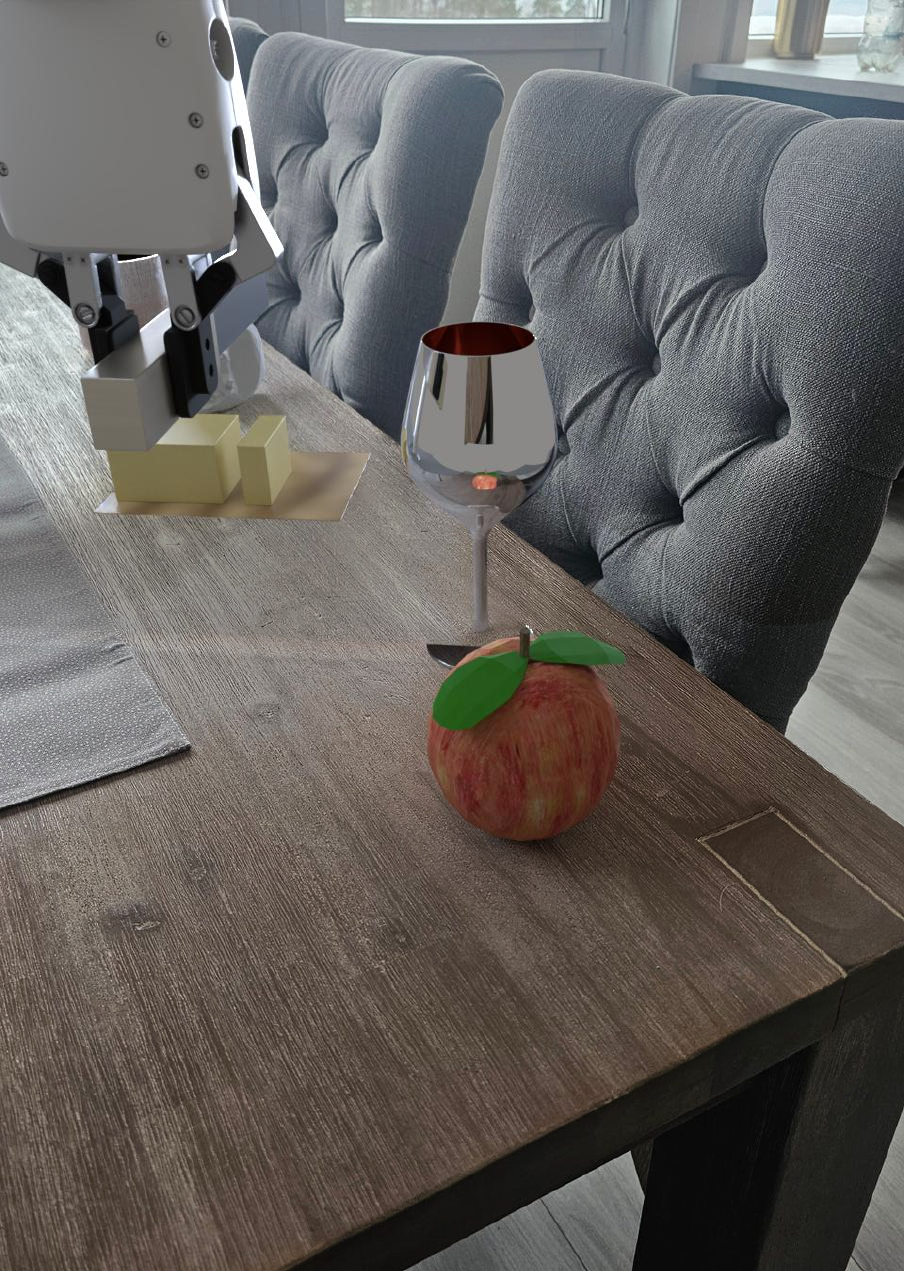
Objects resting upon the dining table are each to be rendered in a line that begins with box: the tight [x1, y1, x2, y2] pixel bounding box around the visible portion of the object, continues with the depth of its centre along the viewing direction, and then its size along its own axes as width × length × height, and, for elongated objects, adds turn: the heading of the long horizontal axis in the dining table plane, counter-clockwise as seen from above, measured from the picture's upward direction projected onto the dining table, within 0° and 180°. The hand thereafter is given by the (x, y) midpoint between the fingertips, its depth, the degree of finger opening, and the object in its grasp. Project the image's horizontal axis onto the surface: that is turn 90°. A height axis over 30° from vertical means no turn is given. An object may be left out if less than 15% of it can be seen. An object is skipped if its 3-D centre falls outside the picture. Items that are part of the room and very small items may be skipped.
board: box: [93, 450, 372, 522], centre depth 80 cm, size 18×12×1 cm, turn 83°
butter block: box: [105, 413, 243, 504], centre depth 78 cm, size 8×6×4 cm
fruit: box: [426, 627, 627, 842], centre depth 47 cm, size 9×10×10 cm
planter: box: [77, 254, 170, 354], centre depth 110 cm, size 11×11×10 cm
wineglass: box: [400, 320, 559, 670], centre depth 57 cm, size 8×8×18 cm
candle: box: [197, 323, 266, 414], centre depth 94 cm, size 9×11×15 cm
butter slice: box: [237, 414, 292, 505], centre depth 77 cm, size 2×6×4 cm, turn 173°
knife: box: [79, 271, 270, 452], centre depth 53 cm, size 22×2×3 cm, turn 172°
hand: (162, 403), depth 49 cm, fingers closed on knife, 2 cm apart
